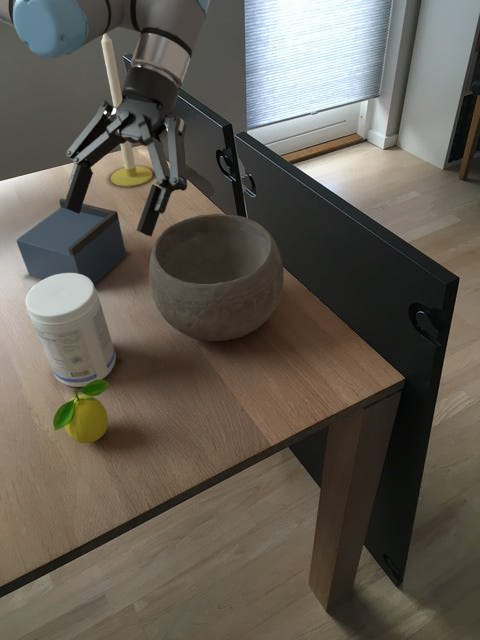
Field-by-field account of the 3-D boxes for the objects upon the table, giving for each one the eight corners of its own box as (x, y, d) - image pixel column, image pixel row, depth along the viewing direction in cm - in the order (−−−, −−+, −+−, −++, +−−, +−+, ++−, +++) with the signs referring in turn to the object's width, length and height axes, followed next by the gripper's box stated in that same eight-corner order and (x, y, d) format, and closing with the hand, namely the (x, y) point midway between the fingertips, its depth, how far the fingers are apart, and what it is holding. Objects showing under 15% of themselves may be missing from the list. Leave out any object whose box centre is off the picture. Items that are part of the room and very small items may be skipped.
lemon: (118, 415, 75) (103, 366, 69) (116, 450, 71) (100, 401, 64) (70, 421, 75) (50, 372, 68) (65, 456, 71) (43, 408, 64)
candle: (155, 183, 126) (131, 30, 104) (112, 189, 125) (78, 35, 103) (150, 164, 133) (126, 18, 112) (109, 170, 132) (77, 23, 110)
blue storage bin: (29, 275, 101) (13, 232, 94) (73, 240, 109) (61, 198, 103) (84, 293, 96) (71, 248, 90) (126, 254, 105) (117, 211, 98)
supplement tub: (87, 336, 88) (64, 263, 78) (130, 359, 83) (110, 284, 74) (40, 373, 82) (8, 299, 72) (83, 400, 78) (55, 325, 68)
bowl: (178, 380, 80) (164, 303, 70) (144, 298, 94) (128, 225, 84) (304, 340, 85) (308, 263, 75) (253, 269, 100) (251, 196, 90)
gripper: (241, 104, 74) (191, 250, 75) (104, 80, 84) (61, 209, 85) (218, 76, 67) (162, 237, 68) (72, 53, 77) (25, 193, 78)
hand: (106, 222), depth 76 cm, fingers open, 13 cm apart
